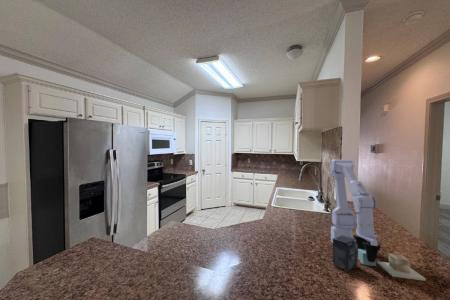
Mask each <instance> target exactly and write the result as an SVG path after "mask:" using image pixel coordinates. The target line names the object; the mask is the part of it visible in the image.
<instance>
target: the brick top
mask: <svg viewBox="0 0 450 300" xmlns="http://www.w3.org/2000/svg"><path fill="white" fill-rule="evenodd" d="M358 259H359V260H360V261H359V260H358ZM357 260H358V261H359V262H360V263H361V264H362V265H363V264H364V265H365V266H371V267H372V266H373V267H377V260H376V259H375V262H369V261H368V260H367V255H366V250H364V249H358V248H357Z"/></svg>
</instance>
